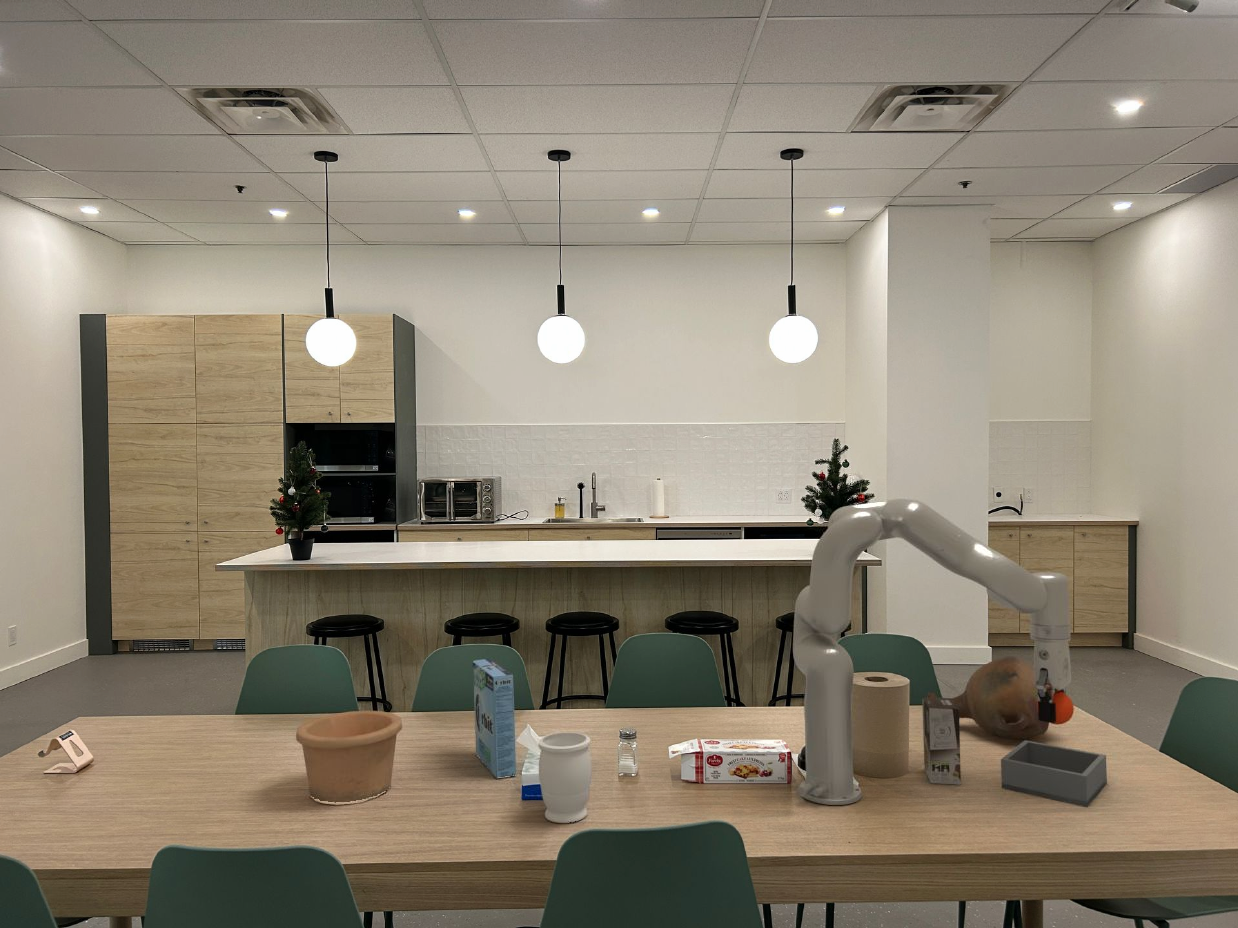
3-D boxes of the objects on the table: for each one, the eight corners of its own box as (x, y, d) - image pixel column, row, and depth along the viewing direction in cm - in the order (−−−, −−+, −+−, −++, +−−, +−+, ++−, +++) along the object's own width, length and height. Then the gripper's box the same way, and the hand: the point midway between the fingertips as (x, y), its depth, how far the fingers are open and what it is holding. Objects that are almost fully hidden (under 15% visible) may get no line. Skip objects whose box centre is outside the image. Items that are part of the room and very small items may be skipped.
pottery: (278, 793, 183) (277, 726, 183) (370, 766, 199) (368, 704, 199) (328, 819, 168) (327, 747, 168) (423, 787, 184) (421, 721, 184)
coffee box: (962, 785, 179) (960, 708, 179) (930, 783, 180) (928, 707, 180) (954, 770, 188) (952, 697, 188) (923, 768, 189) (921, 696, 189)
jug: (1071, 736, 209) (948, 737, 227) (1057, 655, 214) (938, 662, 232) (1052, 740, 193) (922, 741, 211) (1038, 653, 199) (911, 660, 217)
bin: (1087, 807, 166) (1086, 776, 166) (1001, 788, 177) (1000, 759, 177) (1106, 783, 178) (1106, 754, 178) (1025, 767, 188) (1024, 740, 188)
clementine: (1033, 726, 175) (1032, 692, 175) (1029, 717, 182) (1028, 684, 182) (1076, 729, 172) (1075, 694, 173) (1071, 720, 179) (1070, 686, 179)
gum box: (516, 776, 190) (514, 674, 190) (494, 780, 188) (492, 676, 188) (494, 751, 208) (492, 657, 208) (474, 754, 206) (472, 659, 206)
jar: (572, 830, 160) (570, 750, 161) (528, 819, 166) (527, 742, 166) (602, 810, 169) (601, 735, 170) (560, 801, 175) (559, 728, 175)
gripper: (1057, 640, 169) (1060, 730, 168) (1080, 627, 181) (1083, 710, 181) (1017, 636, 174) (1020, 723, 173) (1043, 623, 186) (1045, 705, 186)
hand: (1052, 716), depth 177 cm, fingers closed on clementine, 7 cm apart
